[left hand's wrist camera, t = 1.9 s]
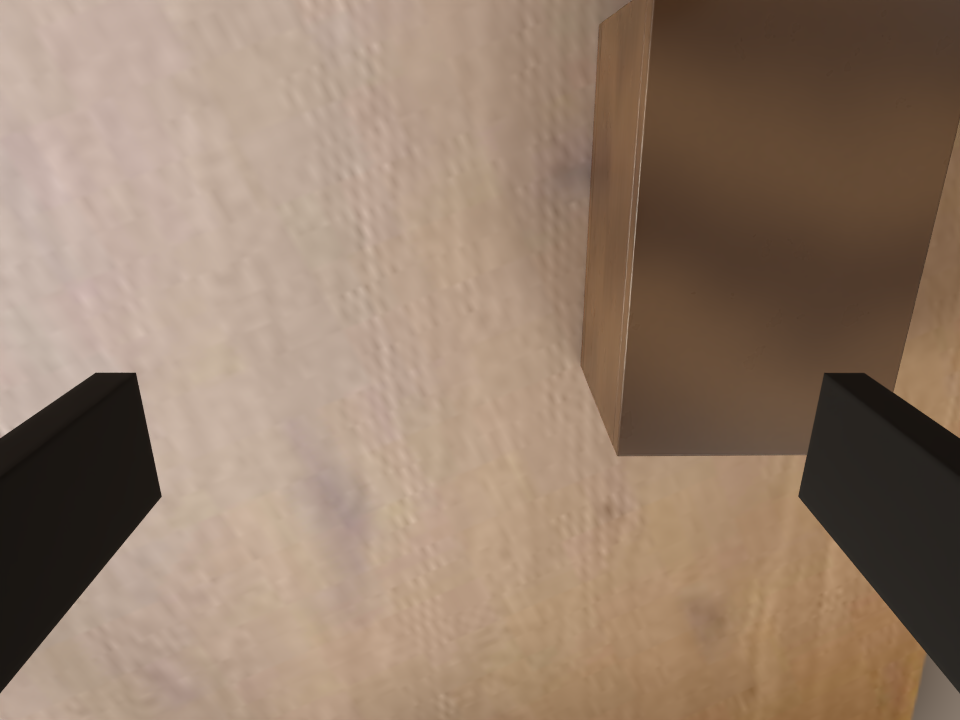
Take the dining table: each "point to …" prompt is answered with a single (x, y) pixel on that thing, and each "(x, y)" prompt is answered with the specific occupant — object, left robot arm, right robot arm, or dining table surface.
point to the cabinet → (758, 210)
